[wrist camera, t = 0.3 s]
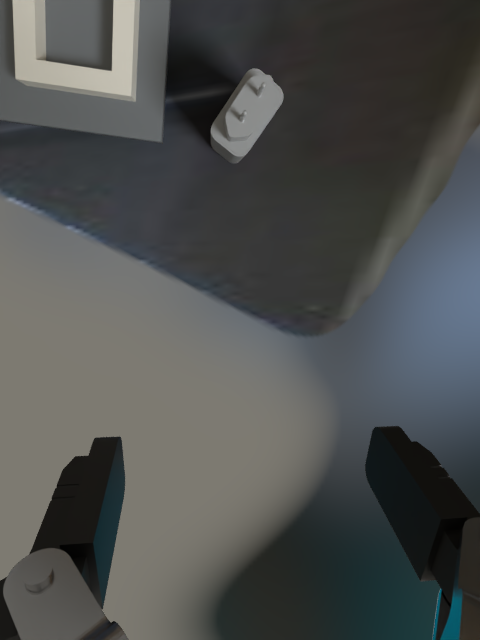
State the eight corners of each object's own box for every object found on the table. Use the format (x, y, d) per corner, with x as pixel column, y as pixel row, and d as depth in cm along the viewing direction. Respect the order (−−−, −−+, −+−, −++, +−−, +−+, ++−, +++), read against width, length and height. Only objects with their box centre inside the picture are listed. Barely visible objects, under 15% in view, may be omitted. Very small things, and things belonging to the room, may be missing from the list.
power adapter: (272, 113, 35) (303, 75, 23) (235, 167, 36) (247, 155, 24) (244, 88, 34) (261, 37, 23) (207, 144, 35) (205, 121, 24)
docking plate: (-7, -123, 29) (-30, -158, 26) (176, -87, 30) (173, -116, 27) (5, 121, 33) (-14, 115, 31) (162, 143, 35) (158, 139, 32)
